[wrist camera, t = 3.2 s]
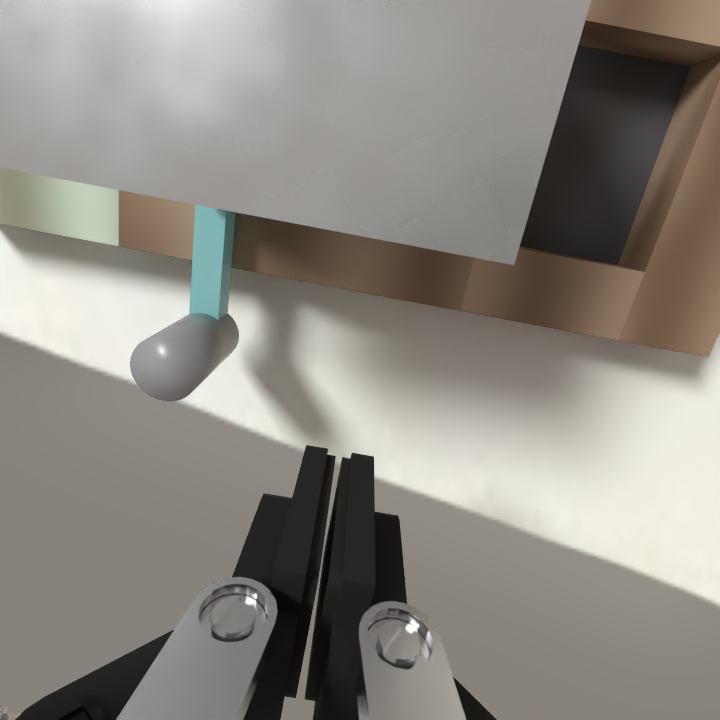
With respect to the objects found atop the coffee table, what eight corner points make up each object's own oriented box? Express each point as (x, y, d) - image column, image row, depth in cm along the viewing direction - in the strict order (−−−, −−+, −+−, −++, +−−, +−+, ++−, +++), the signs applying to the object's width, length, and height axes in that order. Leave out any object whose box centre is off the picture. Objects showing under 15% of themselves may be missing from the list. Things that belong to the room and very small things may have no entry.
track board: (821, -1, 17) (889, -32, 15) (673, 340, 22) (707, 357, 20) (-55, -175, 17) (-125, -235, 15) (-18, 210, 22) (-67, 211, 19)
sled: (456, -10, 16) (485, -92, 11) (374, 388, 21) (371, 439, 16) (205, -59, 16) (134, -162, 11) (184, 353, 21) (130, 394, 16)
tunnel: (528, -66, 15) (706, -395, 7) (455, 236, 19) (514, 265, 10) (177, -135, 15) (-85, -559, 7) (167, 181, 19) (-17, 164, 10)
